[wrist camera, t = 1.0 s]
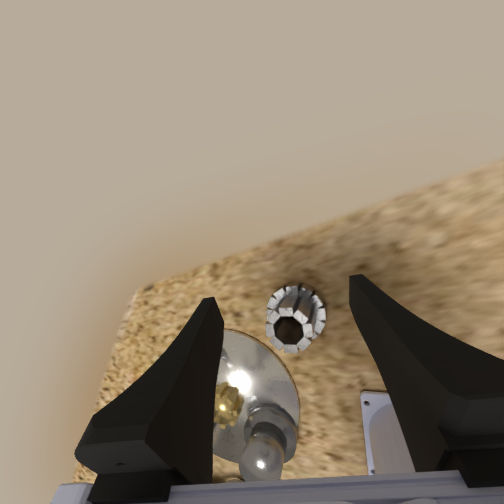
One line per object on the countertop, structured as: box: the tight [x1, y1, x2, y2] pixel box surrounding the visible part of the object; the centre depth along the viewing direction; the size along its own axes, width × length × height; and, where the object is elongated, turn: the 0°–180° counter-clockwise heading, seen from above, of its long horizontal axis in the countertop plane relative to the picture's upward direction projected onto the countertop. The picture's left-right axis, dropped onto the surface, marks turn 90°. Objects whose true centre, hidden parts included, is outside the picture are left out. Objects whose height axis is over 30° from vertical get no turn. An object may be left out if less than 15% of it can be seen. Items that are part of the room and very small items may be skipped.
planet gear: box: [265, 282, 326, 353], centre depth 22 cm, size 6×6×5 cm
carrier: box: [213, 329, 300, 482], centre depth 26 cm, size 16×16×6 cm
